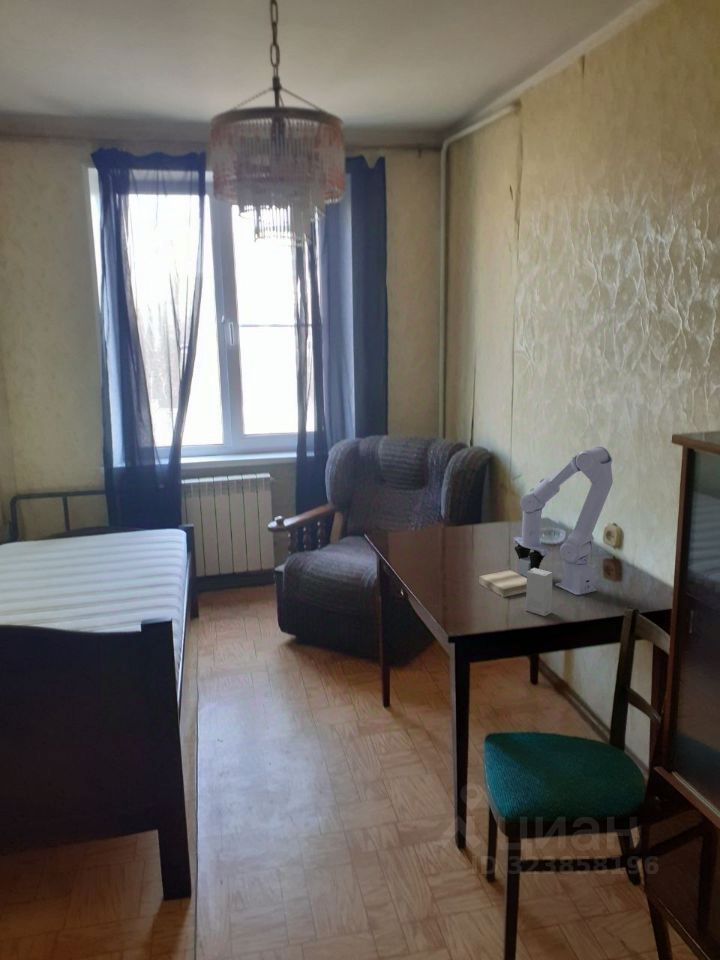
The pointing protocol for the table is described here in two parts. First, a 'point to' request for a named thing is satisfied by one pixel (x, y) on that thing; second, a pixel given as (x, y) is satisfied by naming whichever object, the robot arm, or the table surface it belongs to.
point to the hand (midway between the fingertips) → (529, 570)
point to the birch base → (504, 583)
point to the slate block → (524, 566)
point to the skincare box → (539, 591)
